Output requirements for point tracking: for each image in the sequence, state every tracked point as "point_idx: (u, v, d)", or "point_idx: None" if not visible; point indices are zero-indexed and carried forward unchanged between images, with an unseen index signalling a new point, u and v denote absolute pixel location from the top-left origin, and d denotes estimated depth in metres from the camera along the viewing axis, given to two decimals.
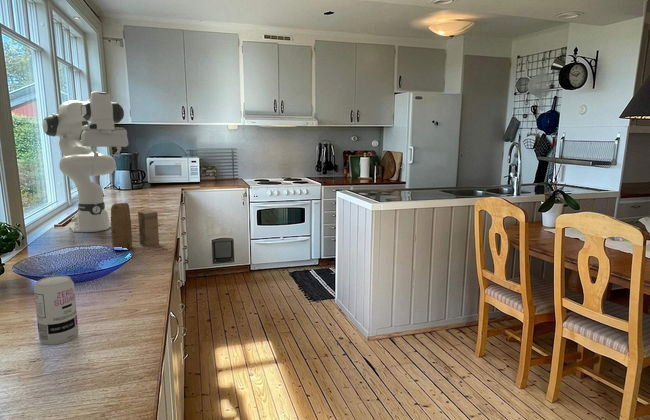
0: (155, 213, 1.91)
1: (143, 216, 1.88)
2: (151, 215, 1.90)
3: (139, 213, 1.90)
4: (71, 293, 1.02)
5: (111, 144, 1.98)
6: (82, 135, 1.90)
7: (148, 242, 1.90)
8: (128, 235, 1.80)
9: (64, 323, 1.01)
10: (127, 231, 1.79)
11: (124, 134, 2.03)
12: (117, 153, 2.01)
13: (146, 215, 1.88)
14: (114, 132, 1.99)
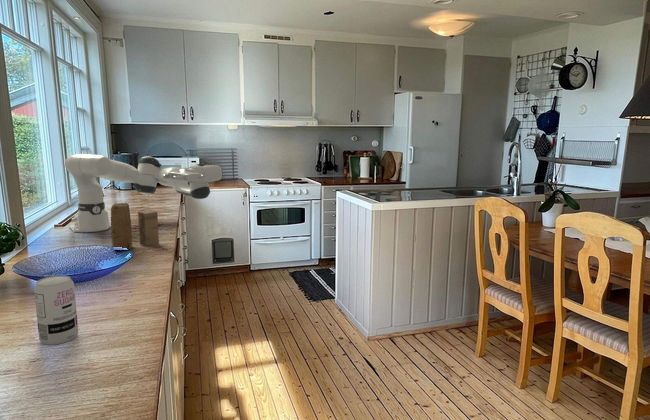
0: (155, 213, 1.91)
1: (143, 216, 1.88)
2: (151, 215, 1.90)
3: (139, 213, 1.90)
4: (71, 293, 1.02)
5: (181, 173, 2.03)
6: None
7: (148, 242, 1.90)
8: (128, 235, 1.80)
9: (64, 323, 1.01)
10: (127, 231, 1.79)
11: (197, 173, 2.02)
12: (176, 176, 1.98)
13: (146, 215, 1.88)
14: (193, 172, 2.06)
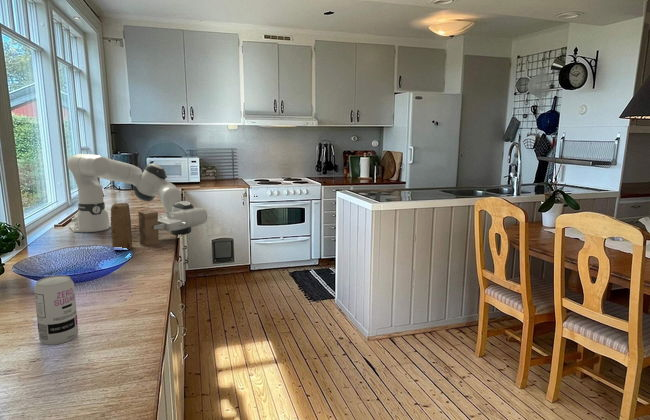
0: (155, 213, 1.91)
1: (143, 216, 1.88)
2: (152, 215, 1.90)
3: (139, 213, 1.90)
4: (71, 293, 1.02)
5: (162, 220, 1.95)
6: None
7: (148, 242, 1.90)
8: (128, 235, 1.80)
9: (64, 323, 1.01)
10: (127, 231, 1.79)
11: (179, 220, 1.94)
12: (155, 225, 1.91)
13: (146, 216, 1.88)
14: (175, 219, 1.98)
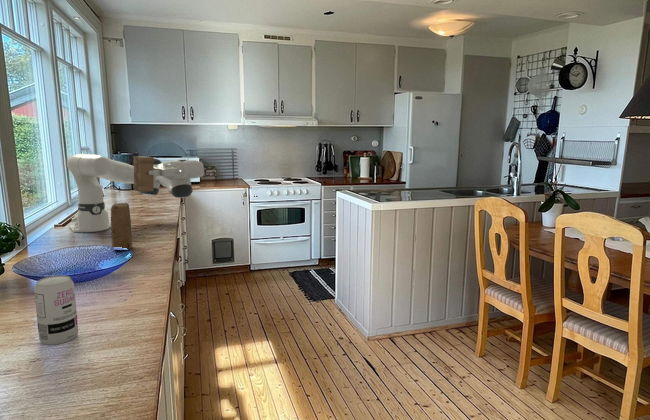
0: (151, 158, 1.86)
1: (138, 160, 1.83)
2: (147, 159, 1.84)
3: (134, 157, 1.85)
4: (71, 293, 1.02)
5: (157, 167, 1.90)
6: None
7: (142, 187, 1.84)
8: (128, 235, 1.80)
9: (64, 323, 1.01)
10: (127, 231, 1.79)
11: (175, 168, 1.89)
12: (150, 170, 1.86)
13: (141, 159, 1.82)
14: (171, 167, 1.93)
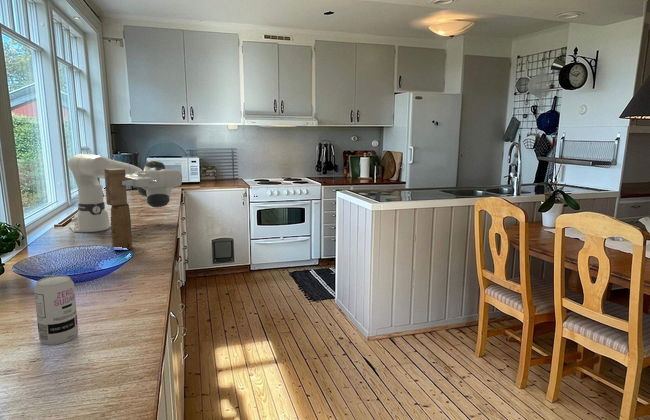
0: (122, 170, 1.77)
1: (109, 172, 1.74)
2: (118, 172, 1.76)
3: (105, 170, 1.77)
4: (71, 293, 1.02)
5: (131, 177, 1.82)
6: None
7: (114, 201, 1.76)
8: (128, 235, 1.80)
9: (64, 323, 1.01)
10: (127, 231, 1.79)
11: (149, 177, 1.81)
12: None
13: (112, 172, 1.74)
14: (146, 176, 1.85)
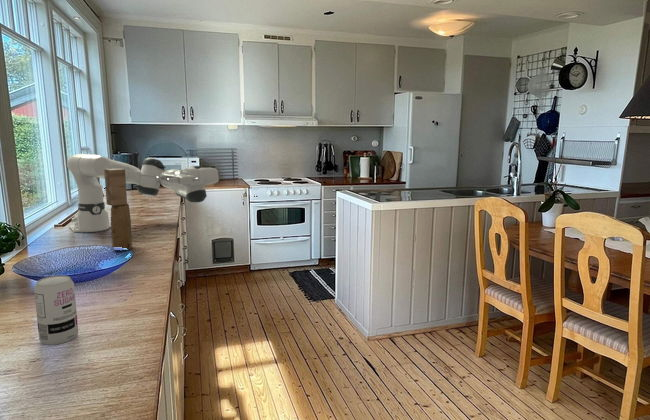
0: (122, 170, 1.77)
1: (109, 173, 1.74)
2: (118, 172, 1.76)
3: (105, 170, 1.77)
4: (71, 293, 1.02)
5: (175, 175, 1.96)
6: None
7: (114, 201, 1.76)
8: (128, 235, 1.80)
9: (64, 323, 1.01)
10: (127, 231, 1.79)
11: (192, 175, 1.95)
12: (169, 178, 1.91)
13: (112, 172, 1.74)
14: (188, 175, 1.99)
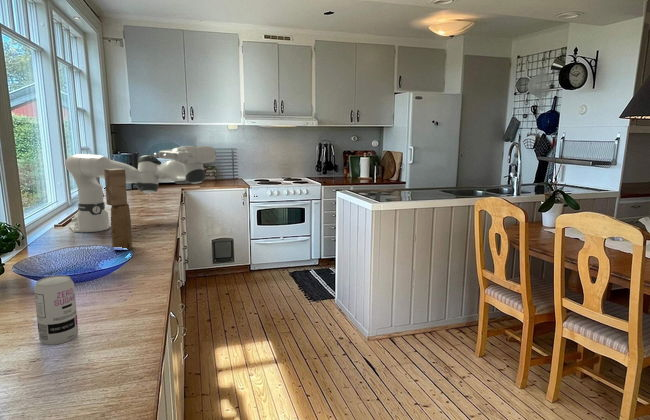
0: (123, 170, 1.77)
1: (109, 173, 1.74)
2: (119, 172, 1.76)
3: (105, 170, 1.77)
4: (71, 293, 1.02)
5: (172, 151, 1.99)
6: None
7: (114, 201, 1.76)
8: (128, 235, 1.80)
9: (64, 323, 1.01)
10: (127, 231, 1.79)
11: (189, 152, 1.98)
12: (167, 154, 1.94)
13: (112, 172, 1.74)
14: (185, 151, 2.02)
